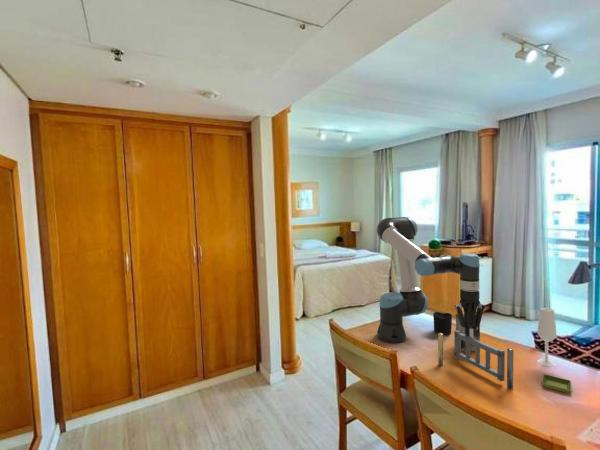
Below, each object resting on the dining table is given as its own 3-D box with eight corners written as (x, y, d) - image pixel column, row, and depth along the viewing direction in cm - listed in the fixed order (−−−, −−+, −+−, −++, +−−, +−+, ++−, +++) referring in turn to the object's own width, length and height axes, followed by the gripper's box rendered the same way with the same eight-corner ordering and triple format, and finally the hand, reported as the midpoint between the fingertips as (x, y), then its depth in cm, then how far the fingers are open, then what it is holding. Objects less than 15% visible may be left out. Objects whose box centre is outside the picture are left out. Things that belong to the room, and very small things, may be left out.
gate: (504, 380, 127) (504, 350, 126) (501, 381, 126) (501, 351, 125) (457, 356, 148) (457, 330, 147) (454, 356, 147) (454, 331, 147)
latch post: (437, 364, 143) (437, 333, 143) (439, 363, 145) (439, 332, 144) (442, 366, 142) (441, 335, 141) (443, 364, 143) (443, 333, 143)
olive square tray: (543, 378, 131) (543, 373, 131) (571, 385, 125) (571, 380, 125) (541, 388, 124) (541, 383, 124) (571, 396, 119) (571, 390, 118)
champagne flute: (536, 358, 147) (537, 306, 145) (555, 361, 143) (556, 308, 142) (537, 364, 141) (537, 310, 140) (556, 368, 138) (557, 312, 136)
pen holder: (442, 327, 186) (441, 310, 185) (455, 333, 177) (455, 315, 176) (429, 330, 182) (429, 313, 181) (443, 336, 173) (443, 318, 173)
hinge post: (506, 387, 125) (506, 349, 124) (507, 385, 126) (508, 347, 125) (512, 389, 123) (512, 351, 122) (513, 387, 125) (514, 349, 124)
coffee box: (474, 345, 162) (474, 313, 161) (480, 351, 155) (480, 318, 154) (455, 345, 162) (455, 313, 162) (460, 351, 156) (460, 318, 155)
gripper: (459, 292, 137) (460, 346, 138) (489, 291, 138) (489, 345, 139) (450, 288, 145) (451, 339, 146) (479, 286, 145) (479, 338, 147)
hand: (470, 342), depth 143 cm, fingers closed
